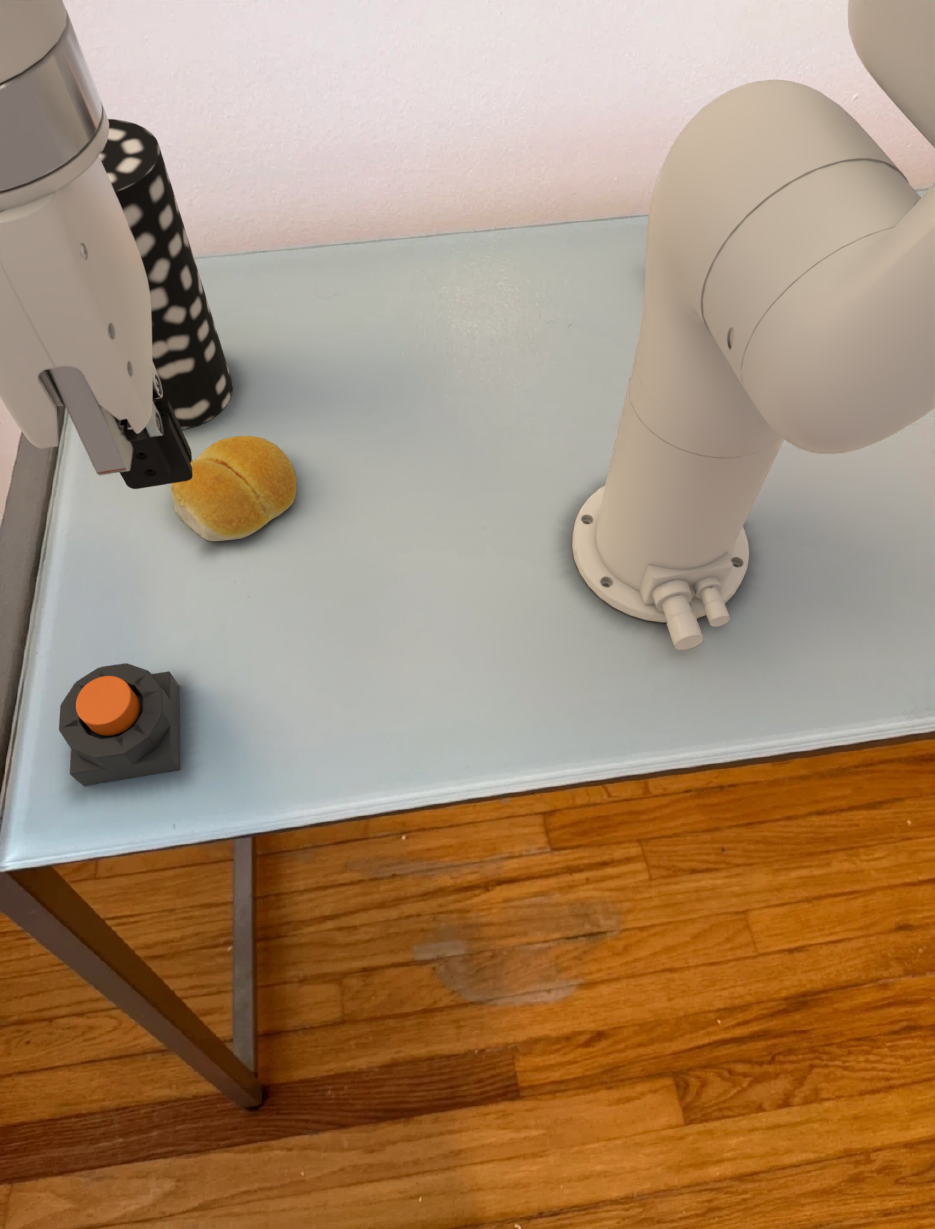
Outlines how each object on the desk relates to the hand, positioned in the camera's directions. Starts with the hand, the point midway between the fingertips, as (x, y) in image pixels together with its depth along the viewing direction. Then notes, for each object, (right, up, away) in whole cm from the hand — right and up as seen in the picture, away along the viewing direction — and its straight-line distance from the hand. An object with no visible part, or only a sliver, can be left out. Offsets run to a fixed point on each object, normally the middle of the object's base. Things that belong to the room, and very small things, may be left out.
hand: (161, 472), depth 43 cm
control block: (-6, -15, +12) cm, 20 cm away
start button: (-6, -13, +9) cm, 17 cm away
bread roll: (-2, +1, +22) cm, 22 cm away
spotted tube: (-8, +11, +28) cm, 31 cm away
